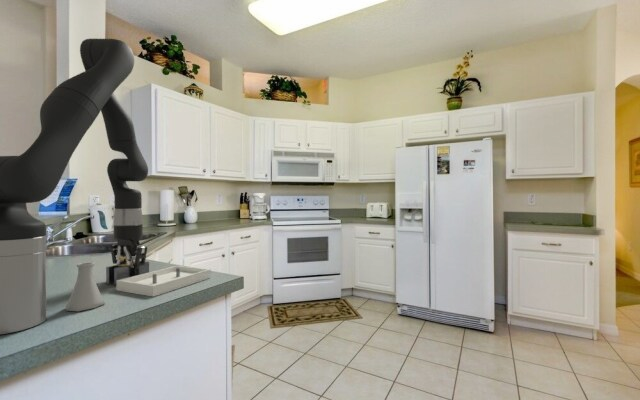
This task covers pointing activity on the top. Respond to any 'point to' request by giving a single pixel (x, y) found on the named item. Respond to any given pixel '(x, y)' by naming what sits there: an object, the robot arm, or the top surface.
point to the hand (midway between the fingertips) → (128, 278)
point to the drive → (123, 272)
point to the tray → (162, 280)
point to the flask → (85, 290)
